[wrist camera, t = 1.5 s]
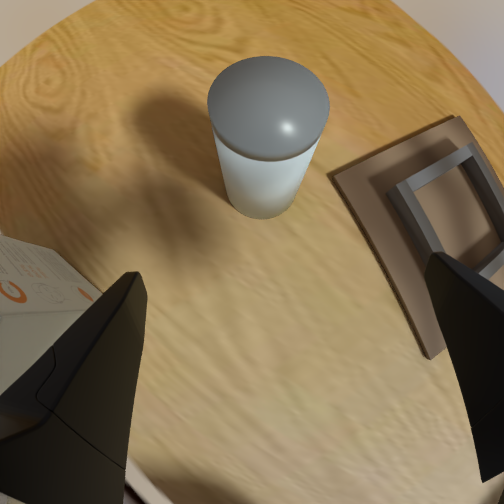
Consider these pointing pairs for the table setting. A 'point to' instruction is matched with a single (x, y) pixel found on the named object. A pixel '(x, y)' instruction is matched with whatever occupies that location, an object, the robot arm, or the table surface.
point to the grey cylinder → (266, 131)
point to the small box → (35, 304)
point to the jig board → (429, 214)
